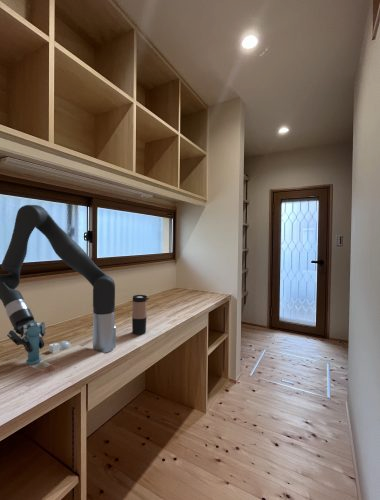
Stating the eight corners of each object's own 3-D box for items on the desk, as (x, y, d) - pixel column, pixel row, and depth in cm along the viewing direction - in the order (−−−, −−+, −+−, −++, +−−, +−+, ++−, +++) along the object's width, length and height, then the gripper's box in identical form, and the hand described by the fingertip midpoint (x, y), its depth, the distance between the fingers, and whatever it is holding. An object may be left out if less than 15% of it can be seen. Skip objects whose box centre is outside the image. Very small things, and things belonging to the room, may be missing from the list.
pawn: (36, 358, 102) (36, 322, 102) (43, 361, 100) (43, 324, 100) (23, 362, 98) (23, 325, 98) (30, 366, 96) (31, 328, 95)
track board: (37, 360, 104) (37, 357, 104) (63, 370, 96) (63, 367, 96) (20, 367, 98) (20, 363, 98) (45, 379, 90) (46, 375, 90)
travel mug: (129, 331, 139) (130, 295, 138) (142, 329, 143) (143, 294, 143) (135, 336, 133) (135, 298, 132) (148, 333, 137) (149, 296, 136)
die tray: (64, 349, 118) (64, 336, 118) (75, 353, 115) (75, 340, 114) (43, 357, 110) (43, 344, 109) (54, 362, 106) (54, 348, 106)
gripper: (3, 311, 96) (21, 350, 91) (40, 304, 108) (58, 338, 103) (-4, 323, 99) (13, 361, 93) (33, 314, 111) (50, 348, 106)
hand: (36, 349), depth 98 cm, fingers closed on pawn, 3 cm apart
